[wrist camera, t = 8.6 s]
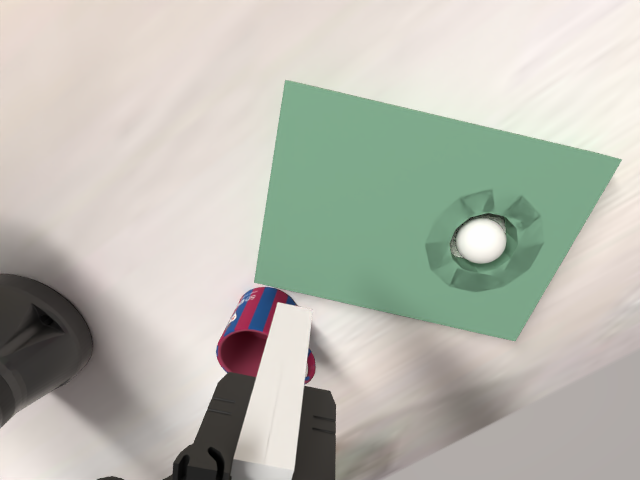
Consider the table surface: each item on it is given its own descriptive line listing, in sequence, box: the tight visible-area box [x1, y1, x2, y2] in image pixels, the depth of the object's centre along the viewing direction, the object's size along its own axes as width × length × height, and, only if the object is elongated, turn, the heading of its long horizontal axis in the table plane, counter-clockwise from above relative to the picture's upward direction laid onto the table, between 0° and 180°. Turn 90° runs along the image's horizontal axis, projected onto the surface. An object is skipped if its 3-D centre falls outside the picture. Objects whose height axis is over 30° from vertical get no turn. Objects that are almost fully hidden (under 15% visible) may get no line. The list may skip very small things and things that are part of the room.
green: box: [254, 80, 622, 341], centre depth 30 cm, size 26×18×2 cm
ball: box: [456, 218, 506, 264], centre depth 30 cm, size 4×4×4 cm
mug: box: [216, 287, 316, 385], centre depth 35 cm, size 7×10×7 cm
